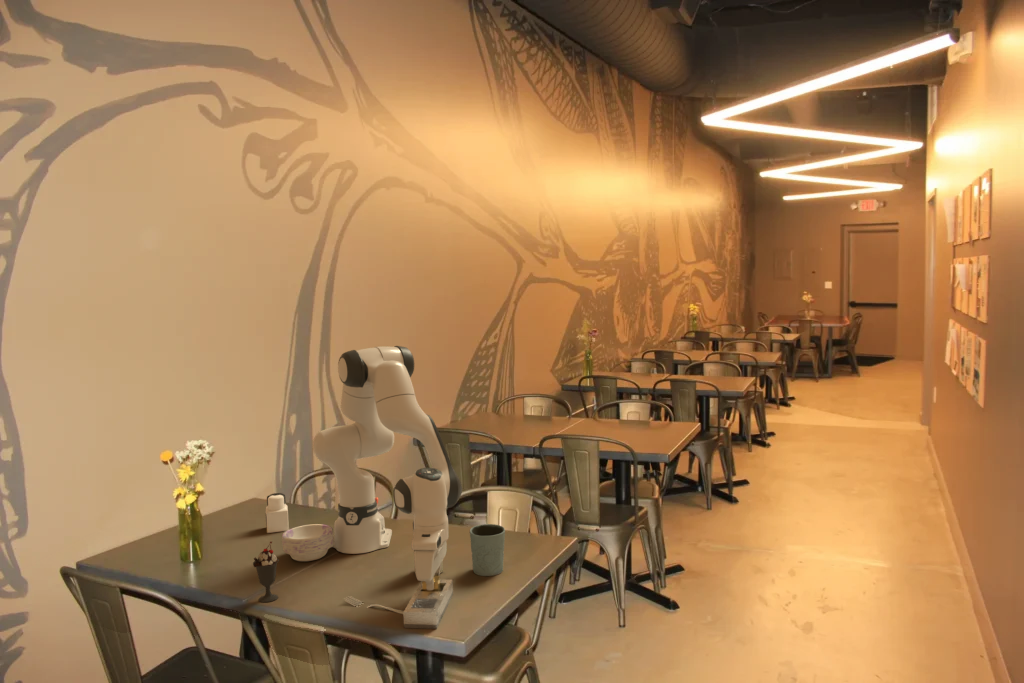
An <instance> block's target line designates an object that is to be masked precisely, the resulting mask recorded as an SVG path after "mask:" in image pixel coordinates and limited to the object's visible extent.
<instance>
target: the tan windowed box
mask: <svg viewBox="0 0 1024 683" xmlns="http://www.w3.org/2000/svg"><path fill="white" fill-rule="evenodd" d="M422 582H423V581H420V583H419V585H418V587H417V588H416V590H415V592H414V593H413V595H412V597H411V599H410V600H409V601H408V604H407V605H406V607H405V609H404V610H403V611H404V612H403V613H404V614H403V628H404V629H428V630H429V629H431V630H436V629H438V627H439V625H440V623H441V621H442V619H443V616H444V614H445V612H446V610H447V608H448V607H449V604H450V602H451V600H452V599H453V596H454V583H453V579H440V587H441V592H436V591H423V586H422Z"/></svg>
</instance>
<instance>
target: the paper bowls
mask: <svg viewBox="0 0 1024 683" xmlns="http://www.w3.org/2000/svg"><path fill="white" fill-rule="evenodd" d="M333 528H334V527H332V526H331V525H328V524H323V523H321V524H320V523H319V524H318V523H315V524H304V525H300V526H296V527H292V528H289V530H287V531H283V533H282V535H281V542H282V551H283V552H284V553H285V554H287V555H290V557H291V559H293V560H294V561H295V562H312V561H313V562H314V561H316V560H319V559H321V558H323V557H325V556H326V554H327V553H328V551H329V549H331V548H333V547H332V546H333V545H334V529H333Z"/></svg>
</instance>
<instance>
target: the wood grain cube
mask: <svg viewBox="0 0 1024 683" xmlns="http://www.w3.org/2000/svg"><path fill="white" fill-rule="evenodd" d="M433 580H434V583H435V584H434V585H435V587H434V589H433V590H427V587H426V582H425V581H423V582H422V581H421V582H422V586H423V591H436V592H441V587H440V580H441V575H440V576H434V577H433Z"/></svg>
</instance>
